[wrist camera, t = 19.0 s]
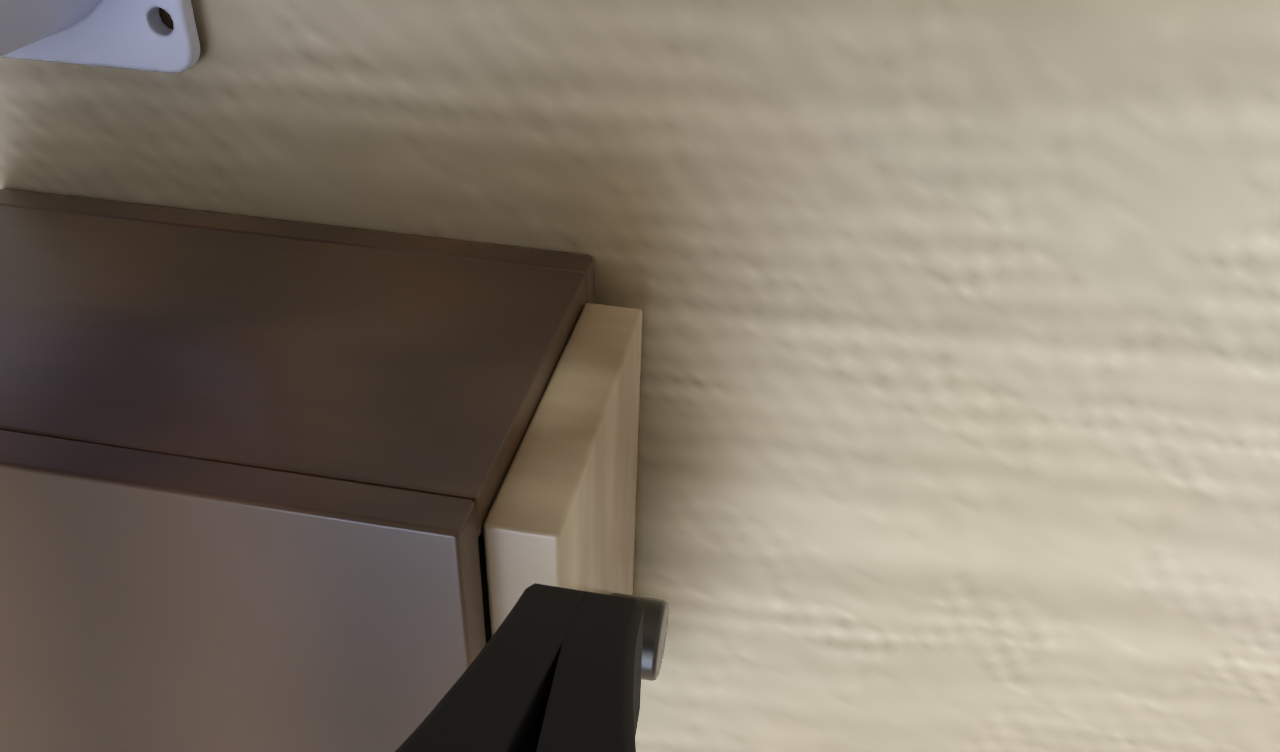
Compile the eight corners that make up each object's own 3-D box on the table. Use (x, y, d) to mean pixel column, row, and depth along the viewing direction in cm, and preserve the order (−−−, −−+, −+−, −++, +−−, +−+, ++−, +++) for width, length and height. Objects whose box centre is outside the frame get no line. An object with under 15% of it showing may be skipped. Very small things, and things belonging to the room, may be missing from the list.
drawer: (702, 315, 21) (640, 547, 15) (675, 693, 27) (624, 954, 22) (75, 240, 23) (-185, 423, 17) (188, 610, 29) (24, 831, 23)
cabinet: (594, 254, 22) (459, 534, 14) (592, 666, 29) (500, 989, 22) (-1, 186, 23) (-377, 406, 16) (136, 589, 30) (-87, 864, 23)
